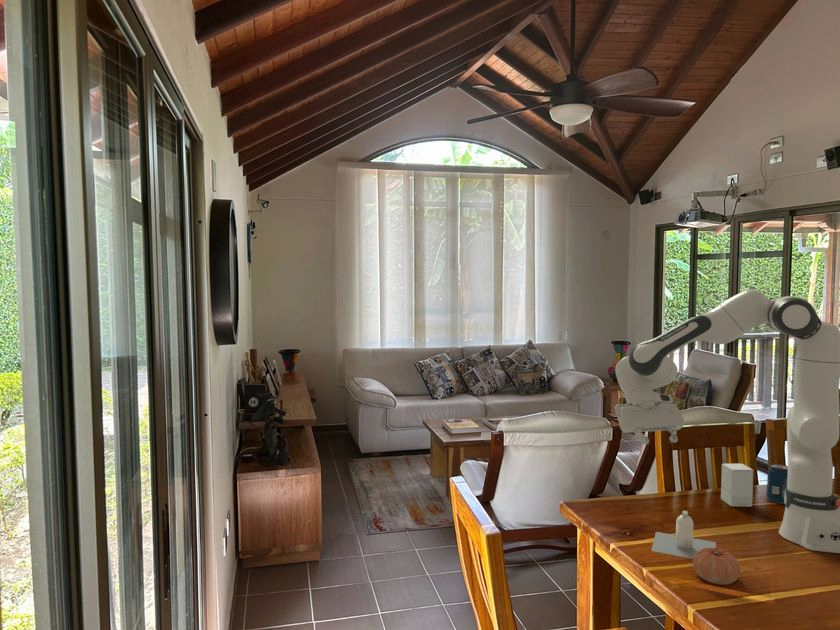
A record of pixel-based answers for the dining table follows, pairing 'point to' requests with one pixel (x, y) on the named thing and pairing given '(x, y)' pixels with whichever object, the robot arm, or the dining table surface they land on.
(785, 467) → the soda can
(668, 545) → the grey pad
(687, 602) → the dining table surface
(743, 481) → the supplement box
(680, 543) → the white rounded bottle
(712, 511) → the dining table surface
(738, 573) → the tomato
